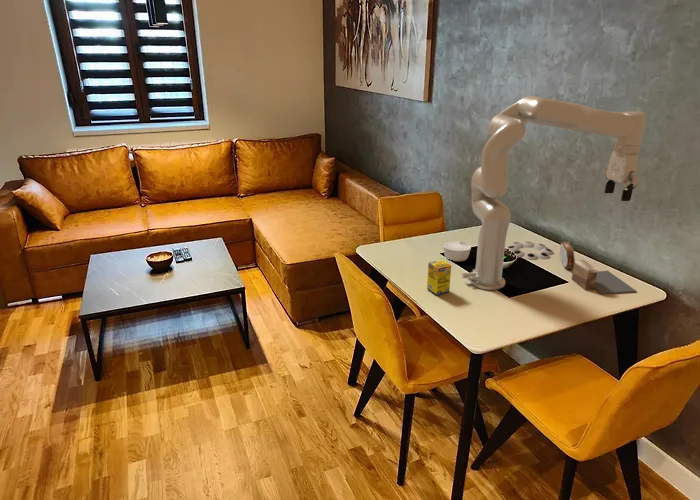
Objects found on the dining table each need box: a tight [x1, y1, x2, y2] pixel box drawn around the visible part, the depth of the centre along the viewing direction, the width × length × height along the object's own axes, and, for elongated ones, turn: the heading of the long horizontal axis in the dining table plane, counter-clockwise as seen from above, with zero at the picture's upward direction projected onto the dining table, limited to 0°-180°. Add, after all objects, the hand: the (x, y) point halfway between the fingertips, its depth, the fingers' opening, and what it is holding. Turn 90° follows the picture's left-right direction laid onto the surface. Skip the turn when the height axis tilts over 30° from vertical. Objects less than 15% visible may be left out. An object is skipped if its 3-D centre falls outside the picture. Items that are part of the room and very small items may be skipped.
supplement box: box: [426, 259, 452, 297], centre depth 175 cm, size 6×6×11 cm
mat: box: [594, 270, 637, 295], centre depth 181 cm, size 13×17×1 cm
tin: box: [559, 241, 575, 270], centre depth 196 cm, size 15×3×8 cm, turn 168°
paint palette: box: [506, 241, 555, 261], centre depth 210 cm, size 20×20×2 cm
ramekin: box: [442, 240, 472, 262], centre depth 205 cm, size 11×11×5 cm
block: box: [571, 259, 599, 291], centre depth 179 cm, size 4×9×8 cm, turn 6°
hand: (617, 196), depth 175 cm, fingers open, 9 cm apart
